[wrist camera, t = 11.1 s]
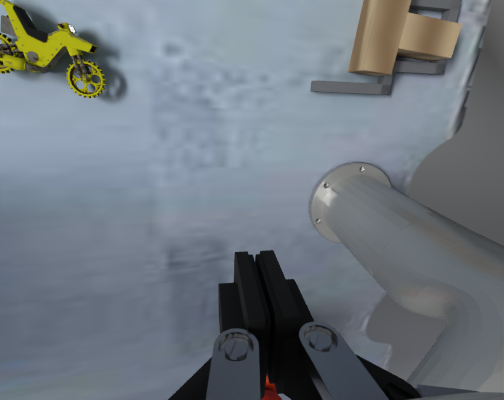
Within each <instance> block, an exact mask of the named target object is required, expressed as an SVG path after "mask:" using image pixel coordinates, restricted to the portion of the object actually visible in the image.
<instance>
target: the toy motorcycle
mask: <svg viewBox="0 0 504 400" xmlns="http://www.w3.org/2000/svg"><path fill="white" fill-rule="evenodd" d="M0 4H2V5H3V6H4V7H5V9H6V11H7V14H8V15H7V17H6V16H3V15H2V16H1V32H3V33H6V34H9V35H12V36H16V37H17V39H18V41H15V42H11V40H12V39H11V38H6V35H4V34H1V33H0V39H1V41H2V43H3V44H0V73H4V74H5V73H10V71H13V72H14V69H16V70H20V71H24V70H28V71H31V72H35V73H38V72H47V68H53V67H54V66H55V65H56V64H57V63H58V61H59V60H60V59H61V58H62V56H64V54H65V53H66V52H67V51H68V52H69V54H70V56H71V58H72V60H73V63H74V64H69V65H70V66H71V67H70V68H67V69H68V73H66V74H68V78H66V79H68V81H69V82H68V84H70V85H71V87H70V88H71V89H74V90H75V91H74V93H79V94H78V95H79V96H81V95H83V97H86V96H88V98H91V96H92V98H95V95H96V96H100V95H99V93H103V92H102V90H105V88H104V85H105V86H106V84H105V81H106V79H104V76H105V75H104V74H103V73H102V71H103V70H100V69H99V66H95V63H93V62H92V63H90V62H91V61H88V60H87V62H86V60H84V57H83V53H82V51H84V52H88V53H92V54H94V53H95V51H96V49H97V46H95V45H93V44H91V43H89V42H87V41H85V40H84V39H82V38H80V37H78V36H76V35H75V30H74V27H72V26H71V25H70V24H68V23H62V24H58V23H56V25H57V26H58V28H59V30H57V31H54V32H52V33H50V34H47V33H44V32H41V31H38V30H37V29H36V28H35V26H34V24H33V23H32V21H31V19H30V18H29V16H28V15H27V13H26V11H25V10H24V9H22V8H21V7H19V6H17V5H15V4H13V3H11V2H10V1H8V0H0ZM16 47H18V48H16ZM3 50H4V51H3ZM20 53H24V56H25V58H26V59H25V58H22V57H19V55H21V54H20ZM75 59H76V61H77V62H76V61H75ZM81 60H82V61H81ZM1 65H2V66H1ZM3 66H6V67H3ZM88 66H89V67H91V69H92V73H91V72H90V70H89V68H88ZM75 70H76V72H77V74H79V75H80V78H76V77H75V76H74V71H75ZM90 73H91V74H90ZM87 74H88V75H87ZM81 75H82V76H81ZM93 75H97V76H99V78H100V82H99V83H97V84H96V83H94V82H92V78H91V77H92V76H93ZM78 80H81V81H83V82H84V84H85V87H84V88H83V89H79V88H77V86H76V82H77V81H78ZM88 84H93V85H94V86H95V91H94V92H89V91H88V90H87V85H88Z"/></svg>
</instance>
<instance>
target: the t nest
mask: <svg viewBox="0 0 504 400" xmlns="http://www.w3.org/2000/svg"><path fill="white" fill-rule="evenodd" d="M461 2H462V0H411V3H410V7H409V8H411V9H422V10H432V11H442V12H443V13H442V18H441V20H446V21H450V22H455V23H456V21H457V17H458V13H459V9H460V5H461ZM446 61H447V59H440V60H432V61H431V63H423V62H408V61H395V63H394V66H393V70H392V74H391V75H379V77H378V83H377V84H369V83H349V82H329V81H312V83H311V91H316V92H338V93H361V94H383V95H389V93H390V88H391V83H392V78H393V72H399V73H416V74H433V75H439V74H443V72H444V69H445V65H446Z"/></svg>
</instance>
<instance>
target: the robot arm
mask: <svg viewBox="0 0 504 400" xmlns="http://www.w3.org/2000/svg"><path fill="white" fill-rule="evenodd" d="M360 167H361V168H360ZM325 183H326V184H325ZM324 184H325V185H324ZM310 217H311V221H312V223H313V225H314V227H315V228H316V229H317V231H318V232H319V233H320V234H321V235H322V236H323V237H325V238H326V239H328V240H330V241H333V242H337V243H343V244H344V245H345V247H346V248H347V249H348V250H349V251H350V252H351V253H352V254H353V256H354V257H355V258H356V259H357V260H358V261H359V262H360V263H361V264H362V266H363V267H364V268H365V269H366V270H367V271H368V272H369V273H370V275H371V276H372V277H373V278H374V279H375V280H376V281H377V282H378V283H379V285H380V286H381V287H382V288H383V289H384V290H385V291H386V292H387V293H388V294H389V295H390V297H391V298H392V299H393V300H395V301H396V302H397V303H398V304H399V305H401V306H402V307H404V308H406V309H408V310H409V311H412V312H414V313H417V314H420V315H425V316H429V317H435V318H444V319H448V322H447V324H446V326H445V328H444V329H443V331H442V332H441V334H440V335H439V336H438V338H437V340H436V342H435V343H434V345H433V346H432V347H431V349H430V350H429V351H428V353H427V354H426V355H425V357H424V358H423V359H422V360H421V362H420V363H419V364H418V366H417V367H416V368H415V370H414V371H413V372H412V374H411V375H410V377H409V378H408V379H407V380H406V381H404V380H403V379H401V378H399V377H397V376H395V375H393V374H392V373H390V372H388V371H386V370H384V369H382V368H380V367H378V366H376V365H375V364H373V363H371V362H369V361H367V360H365V359H363V358H361V357H360V356H358V355H356V354H355V353H354V352H353V351H352V349H351V348H350V347H349V345H348V344H347V343H346V341H345V340H344V339H343V337H342V336H341V335H340V333H339V332H338V331H337V330H336V329H335V328H333V327H332V326H330V325H328V324H326V323H323V322H317V321H316V322H314V320H313V318H312V316H311V314H310V311H309V309H308V307H307V305H306V303H305V301H304V299H303V297H302V295H301V292H300V290H299V288H298V286H297V284H296V282H295V280H294V279H285V277H284V274H283V272H282V270H281V267H280V265H279V263H278V260H277V258H276V256H275V253H274V251H273V250H270V251H260V254H256V257H255V261H254V258H253V255H248V252H235V259H234V283H222V284H219V324H220V335H219V336H218V337H217V338H216V340H215V343H214V347H213V353H212V357H211V358H210V359H209V360H208V361H207V362H206V363H205V364H204V365H203V366H202V367H201V368H200V369H199V370H198V371H197V372H196V373H195V374H194V375H193V376H192V377H191V378H190V379H189V380H188V381H187V382H186V383H185V384H184V385H183V386H182V387H181V388H180V389H179V390H178V391H177V392H176V393H174V394H173V395H172V396H171V397H170V398H169V399H168V400H262V399H263V397H264V396H265V385H266V376H268V380H269V383H270V384H275V388H276V393H277V394H281V393H283V394H285V395H286V396H287V397H289V398H290V399H291V400H504V246H503V245H500V244H498V243H496V242H494V241H492V240H490V239H488V238H486V237H484V236H482V235H479V234H478V233H475V232H473V231H471V230H469V229H468V228H466V227H464V226H462V225H460V224H458V223H456V222H454V221H452V220H450V219H448V218H447V217H445V216H443V215H441V214H439V213H437V212H435V211H433V210H431V209H429V208H428V207H426V206H424V205H422V204H420V203H418V202H416V201H414V200H413V199H411V198H409V197H407V196H405V195H403V194H401V193H399V192H397V191H396V190H394V189H392V187H391V184H390V181H389V180H388V178H387V176H386V175H385V174H384V173H383V172H382V171H381V170H379V169H378V168H377V167H374V166H372V165H370V164H366V163H363V162H352V163H346V164H344V165H341V166H338V167H336V168H335V169H333V170H331V171H330V172H329V173H327V174H326V175H325V176H324V177H323V178H322V179H321V180H320V181H319V183H318V184H317V186H316V187H315V189H314V191H313V194H312V196H311V200H310ZM316 219H317V220H316Z"/></svg>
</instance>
